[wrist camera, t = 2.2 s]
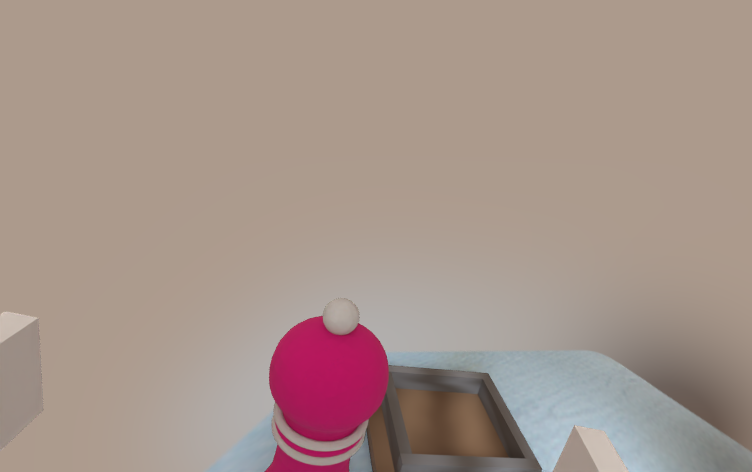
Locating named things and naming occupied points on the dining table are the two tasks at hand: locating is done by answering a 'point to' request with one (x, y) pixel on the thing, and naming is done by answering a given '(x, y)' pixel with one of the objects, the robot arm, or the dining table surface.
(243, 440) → the dining table surface
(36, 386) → the robot arm
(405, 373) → the cruet board
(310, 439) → the pepper mill
